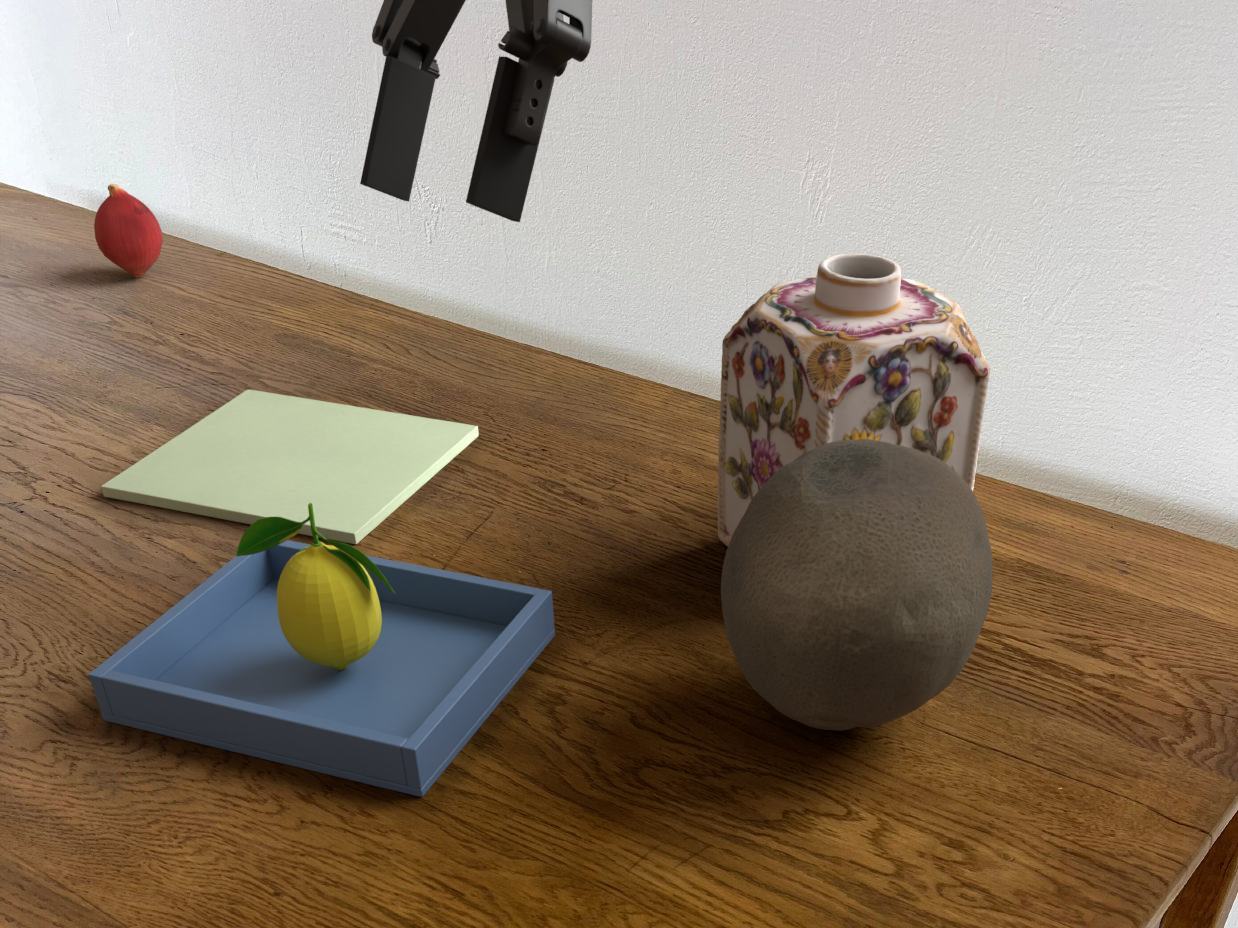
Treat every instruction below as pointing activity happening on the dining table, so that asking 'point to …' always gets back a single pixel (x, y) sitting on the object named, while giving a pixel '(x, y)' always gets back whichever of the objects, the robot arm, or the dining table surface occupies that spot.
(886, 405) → the decorative jar
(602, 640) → the dining table surface
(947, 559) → the cantaloupe
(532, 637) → the tray
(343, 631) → the lemon
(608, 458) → the dining table surface
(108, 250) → the onion
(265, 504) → the mat
